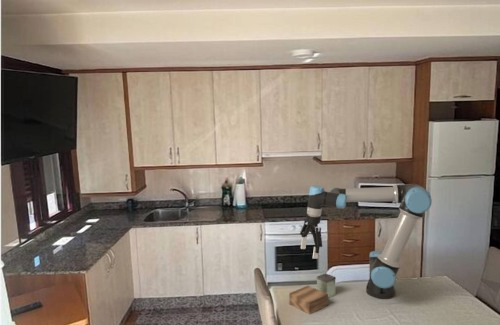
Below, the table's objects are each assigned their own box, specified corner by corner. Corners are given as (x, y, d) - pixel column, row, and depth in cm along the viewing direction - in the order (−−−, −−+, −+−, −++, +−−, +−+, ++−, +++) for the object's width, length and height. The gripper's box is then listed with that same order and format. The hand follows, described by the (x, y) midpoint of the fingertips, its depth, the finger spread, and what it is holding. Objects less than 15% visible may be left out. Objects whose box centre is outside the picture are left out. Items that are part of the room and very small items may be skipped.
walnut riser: (328, 305, 193) (328, 294, 192) (309, 314, 184) (309, 302, 184) (308, 296, 204) (308, 285, 203) (289, 304, 195) (289, 293, 195)
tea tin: (335, 294, 205) (335, 277, 204) (327, 298, 200) (326, 280, 199) (325, 290, 210) (325, 273, 209) (316, 294, 206) (316, 276, 205)
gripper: (296, 208, 208) (292, 245, 211) (319, 222, 185) (314, 263, 187) (308, 208, 210) (304, 244, 213) (332, 222, 187) (327, 262, 190)
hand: (308, 253), depth 200 cm, fingers open, 13 cm apart
